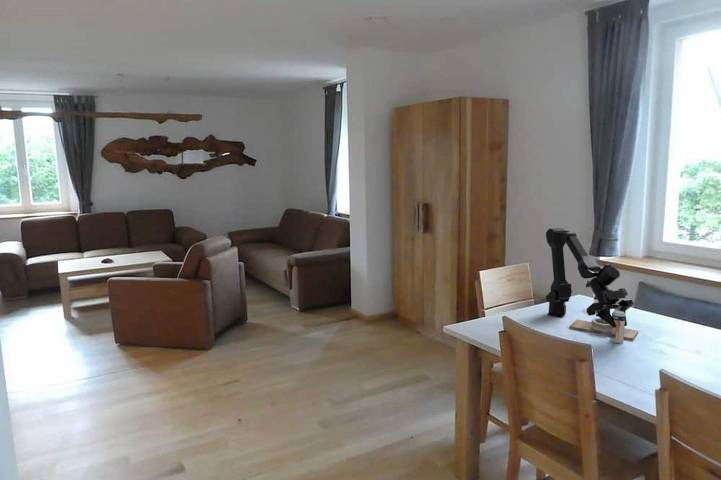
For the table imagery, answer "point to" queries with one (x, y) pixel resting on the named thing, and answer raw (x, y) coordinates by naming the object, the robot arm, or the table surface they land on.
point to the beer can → (618, 327)
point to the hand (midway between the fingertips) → (620, 326)
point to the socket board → (601, 328)
